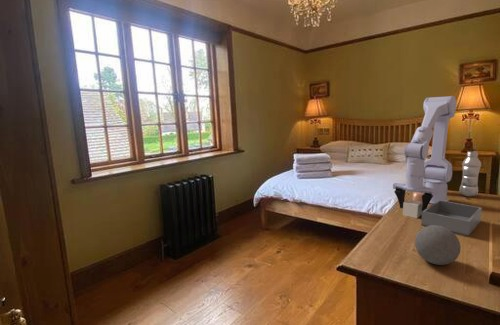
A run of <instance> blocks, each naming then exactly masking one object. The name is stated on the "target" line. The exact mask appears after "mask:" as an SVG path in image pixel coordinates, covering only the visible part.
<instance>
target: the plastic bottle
mask: <svg viewBox="0 0 500 325" xmlns="http://www.w3.org/2000/svg"><path fill="white" fill-rule="evenodd" d="M478 157H479V151H477V150H476V151H475V150H473V151H471V150H469V151H467V152H466V158H465V159H464V160H463V161H462V162H461V163H462V164H461V167H462V178H461V184H460V186H459V194H460V195H462V196H464V197H465V196H466V197H476V196H477V195H478V194H479V193H478V192H479V186H478V184H479V183H478V182H479V173H480V170H481V167H482V162H481V160H480V159H479V158H478Z"/></svg>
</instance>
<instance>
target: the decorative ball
mask: <svg viewBox="0 0 500 325" xmlns="http://www.w3.org/2000/svg"><path fill="white" fill-rule="evenodd" d="M414 246H415V250H416V251H417V253H418V255H419V256H420V257H421V258H422V259H423V260H425V261H426V262H428V263H431V264H433V265H438V266H445V265H449V264H451V263H454V262H455V261H456V260H457V259H458V258H459V256H460V254H461V248H462V247H461V242H460V240H459V238H458V236H457V234H455V233H453V232H452V231H450V230H449V229H447V228H445V227H442V226H438V225H430V226H423V228H421V229H419V231H418V232H417V234H416V235H415V239H414Z"/></svg>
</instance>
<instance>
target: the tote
mask: <svg viewBox="0 0 500 325" xmlns="http://www.w3.org/2000/svg"><path fill="white" fill-rule="evenodd" d="M482 210H483V207H480V206H475V205H468V204H464V203H458V202H452V201H441V200H438V201H436V202H435V203H433V204H432V203H431V205H429V206H427V209H425V210H424V211H422V215H421V223H420V224H421V226H423V227H426V226H430V225H438V226H442V227H445V228H447V229H449V230H450V231H452V232H453V233H454V234H455V235H459V236H463V237H467V238H468V237H469V236H470V235H471V234H472V233H473V231H474V230H476V227H477V226H478V225H479V224H480V222H481V220H482Z"/></svg>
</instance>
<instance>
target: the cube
mask: <svg viewBox="0 0 500 325" xmlns="http://www.w3.org/2000/svg"><path fill="white" fill-rule="evenodd" d="M402 215H403V216H406V217H411V218H415V219H418V218H419V217H422V202H419V201H414V200H412V199H407V200H404V203H403V208H402Z"/></svg>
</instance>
